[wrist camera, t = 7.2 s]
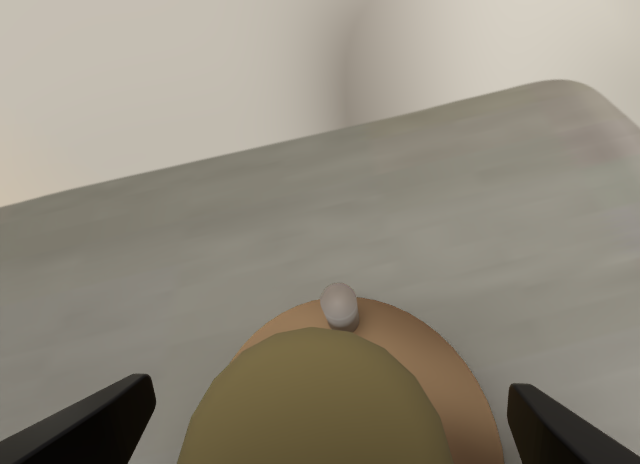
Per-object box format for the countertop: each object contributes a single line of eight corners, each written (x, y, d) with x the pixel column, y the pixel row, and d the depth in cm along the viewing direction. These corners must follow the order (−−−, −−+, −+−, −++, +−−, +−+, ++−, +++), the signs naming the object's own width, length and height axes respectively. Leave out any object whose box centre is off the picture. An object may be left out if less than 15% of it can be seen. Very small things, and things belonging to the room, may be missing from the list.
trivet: (537, 675, 11) (607, 782, 8) (177, 627, 13) (109, 695, 10) (467, 301, 18) (490, 271, 14) (233, 303, 20) (203, 277, 16)
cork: (251, 461, 15) (33, 518, 5) (330, 344, 17) (275, 235, 7) (369, 581, 12) (353, 1070, 3) (445, 427, 14) (581, 425, 5)
